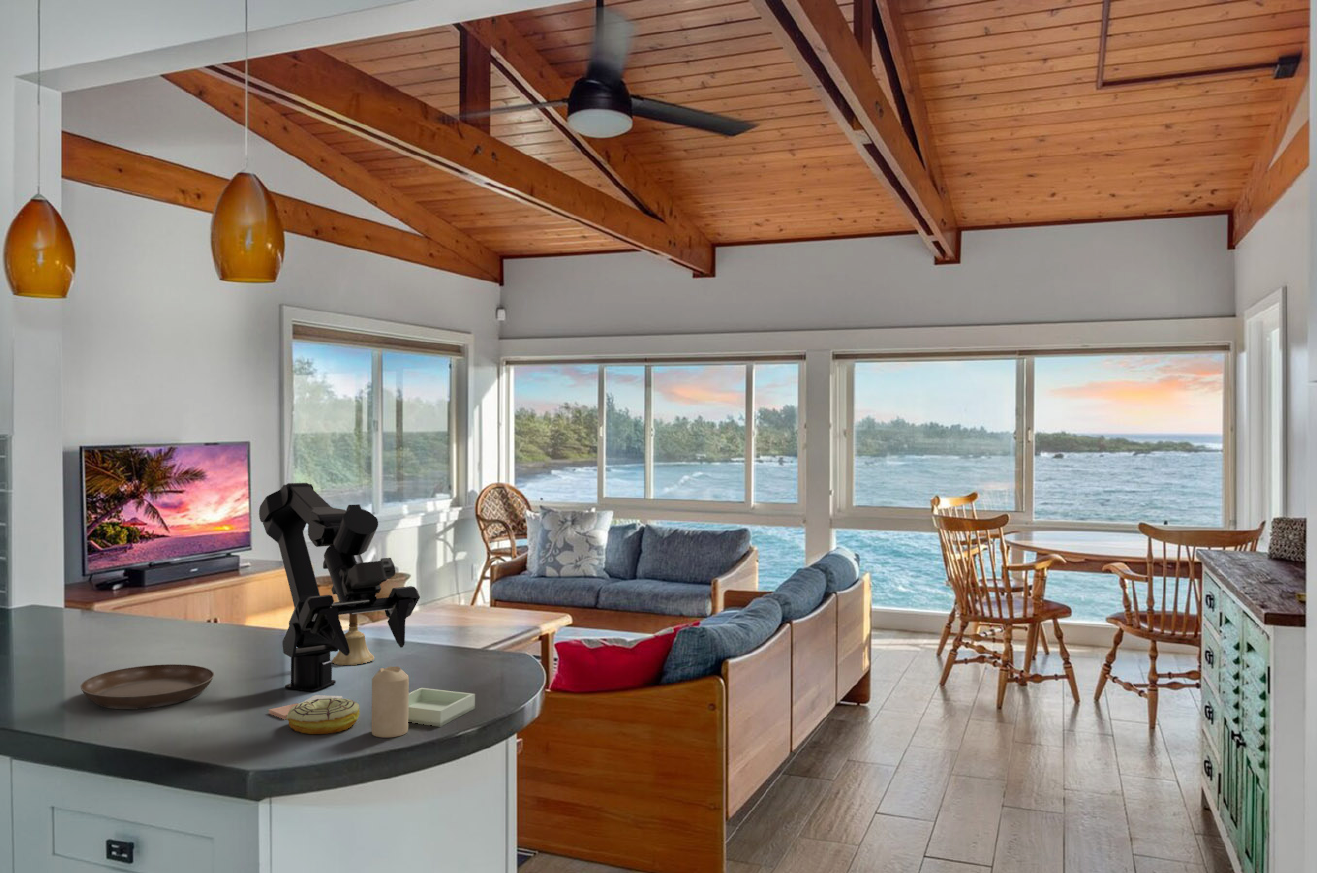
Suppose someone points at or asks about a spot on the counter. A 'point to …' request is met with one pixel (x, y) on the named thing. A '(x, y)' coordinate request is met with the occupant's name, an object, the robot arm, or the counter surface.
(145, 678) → the plant saucer
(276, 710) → the tile terracotta
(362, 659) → the hand bell
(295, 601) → the robot arm
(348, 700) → the decorated donut
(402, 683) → the candle
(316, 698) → the tile white
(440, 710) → the tray
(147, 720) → the counter surface
